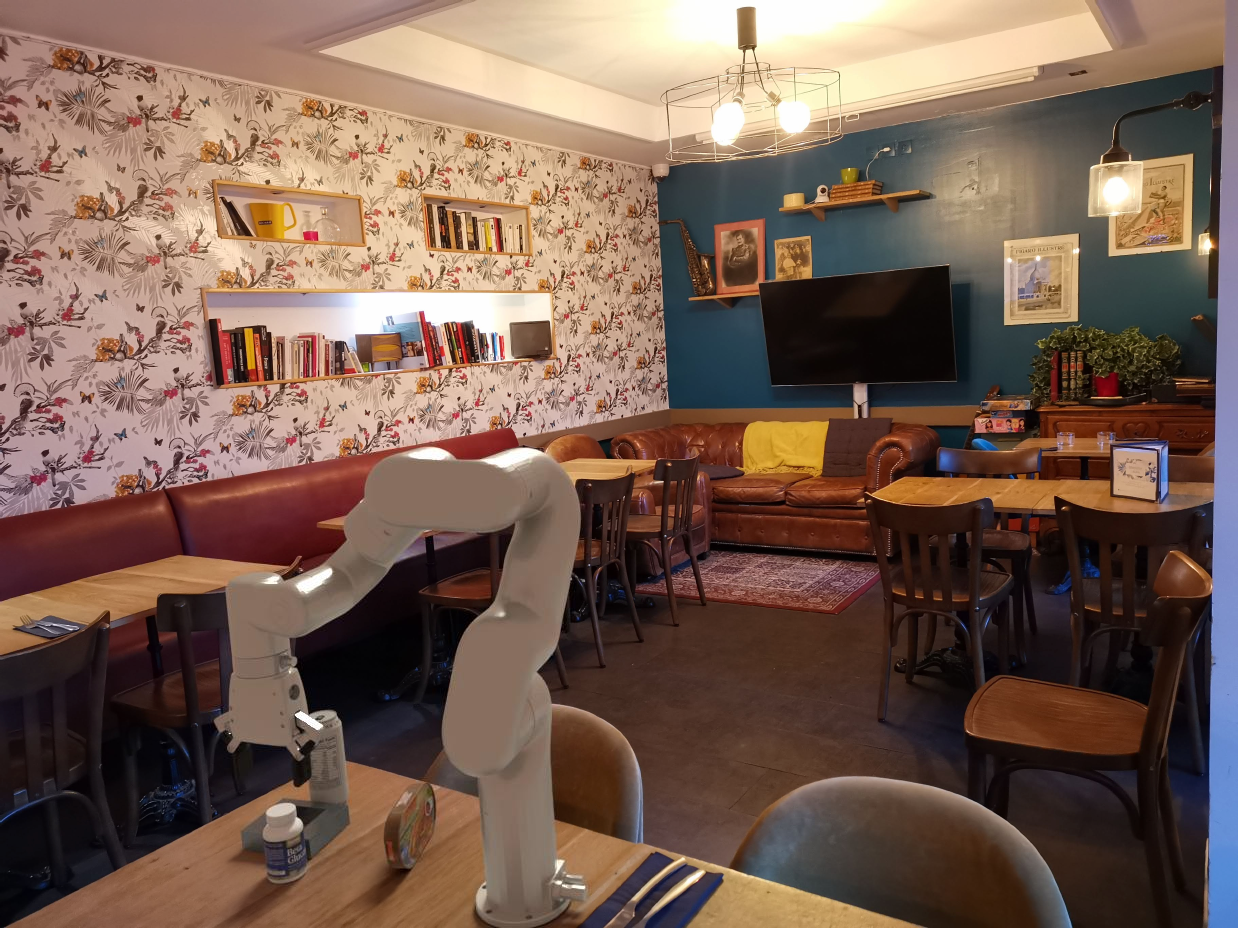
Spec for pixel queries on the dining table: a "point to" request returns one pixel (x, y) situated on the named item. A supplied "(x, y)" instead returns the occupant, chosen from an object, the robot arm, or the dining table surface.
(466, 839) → the dining table surface
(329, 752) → the energy drink can
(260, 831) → the socket block
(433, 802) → the tin
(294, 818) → the pill bottle
